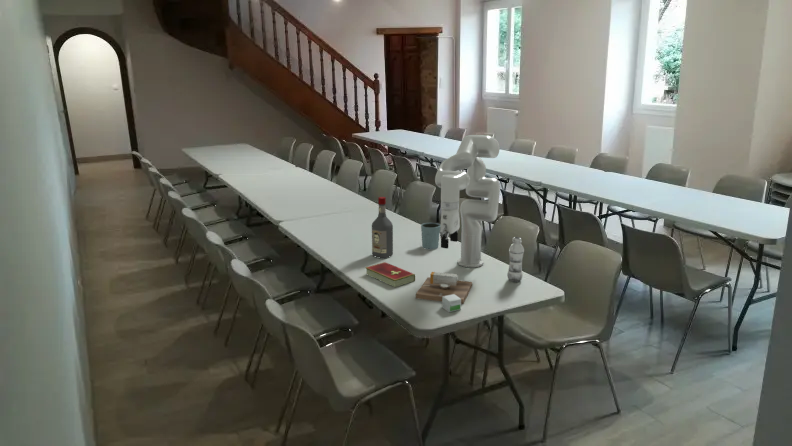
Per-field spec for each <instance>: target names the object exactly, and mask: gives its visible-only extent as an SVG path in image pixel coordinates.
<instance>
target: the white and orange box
mask: <svg viewBox="0 0 792 446" xmlns="http://www.w3.org/2000/svg"><path fill="white" fill-rule="evenodd" d="M457 280H458V274H457V273H449V272H447V273H446V272H435V271H431V273H430V284H440V288H441V289H449V288H450V285H454V286H456V285H457Z"/></svg>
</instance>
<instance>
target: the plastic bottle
mask: <svg viewBox="0 0 792 446" xmlns="http://www.w3.org/2000/svg"><path fill="white" fill-rule="evenodd" d="M511 241H512V244H510V246H509V248H508V253H509V265H508V271H507V279H508V281H510V282H514V283H515V282H521V281H522V279H523V257H524V253H525V248H524V245H522V237H519V236H514V237H512V240H511Z"/></svg>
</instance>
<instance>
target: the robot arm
mask: <svg viewBox="0 0 792 446" xmlns="http://www.w3.org/2000/svg"><path fill="white" fill-rule="evenodd" d="M500 147H501V146H500V144H499V141H498V140H497V139H496V138H494V137H493V136H491V135H482V134H479V135H478V134H469V135H466V136H464V137H463V138H462V140H461V142H460V144H459V146H458V148H457V151H456V153H455V154H453V155H451V156H450V157H448V158H446V159H445V160H443V161H442V162H441V163H440V165H439V167H438V168H437V171H436V174H435V177H434V181H435V185H436V187H438V188H440V209H441V213H440V214H441V215H440V234H439V239H440V248H442V249H446V250H447V249H449V241H450V242H453V243H454V242H458V241H459V240H458V239H459V238H458V237H459V233H458V232H459V229H460V227H461V237H460V238H461V239H460V241H461V242H460V244H461V245H460V258H458V259H457V264H458V265H459V266H461V267H464V268H478V267H479V268H480V267H482V266H483V265H484V264H485V261H484V260H483V259H482V257H481V256H482V232H483V231H482V230H483V229H482V226H481V224H480V223H479V221H480V222H494V221H495V220H497V218H498V211H499V201H500V193H501V185H500V182H499V180H498V179H497V178H494V177H486V171H487V167H486V164H485V163H484V160H483V159H482V158H485V159H495V158H497V157H498V155H499V153H500V149H501V148H500ZM465 169H467V172H466V171H462V170H465ZM463 190H465V193H466V195H467V196H468V197H471V198H472V197H473V198H483V199H488V200H480V199H464V200H463V201H462V202H461V203H460V191H463ZM460 220H461V221H460ZM460 222H461V224H460ZM449 236H450V239H449Z"/></svg>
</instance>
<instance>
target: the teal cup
mask: <svg viewBox="0 0 792 446" xmlns="http://www.w3.org/2000/svg"><path fill="white" fill-rule="evenodd" d="M420 229H421V231H420V232H421V247H422V248H423V249H424V248H425V249H424V250H436V249H438V248H439V244H440V243H439V242H440V230H441V223H438V222H437V223H436V222H423V223H422V224H420Z"/></svg>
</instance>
